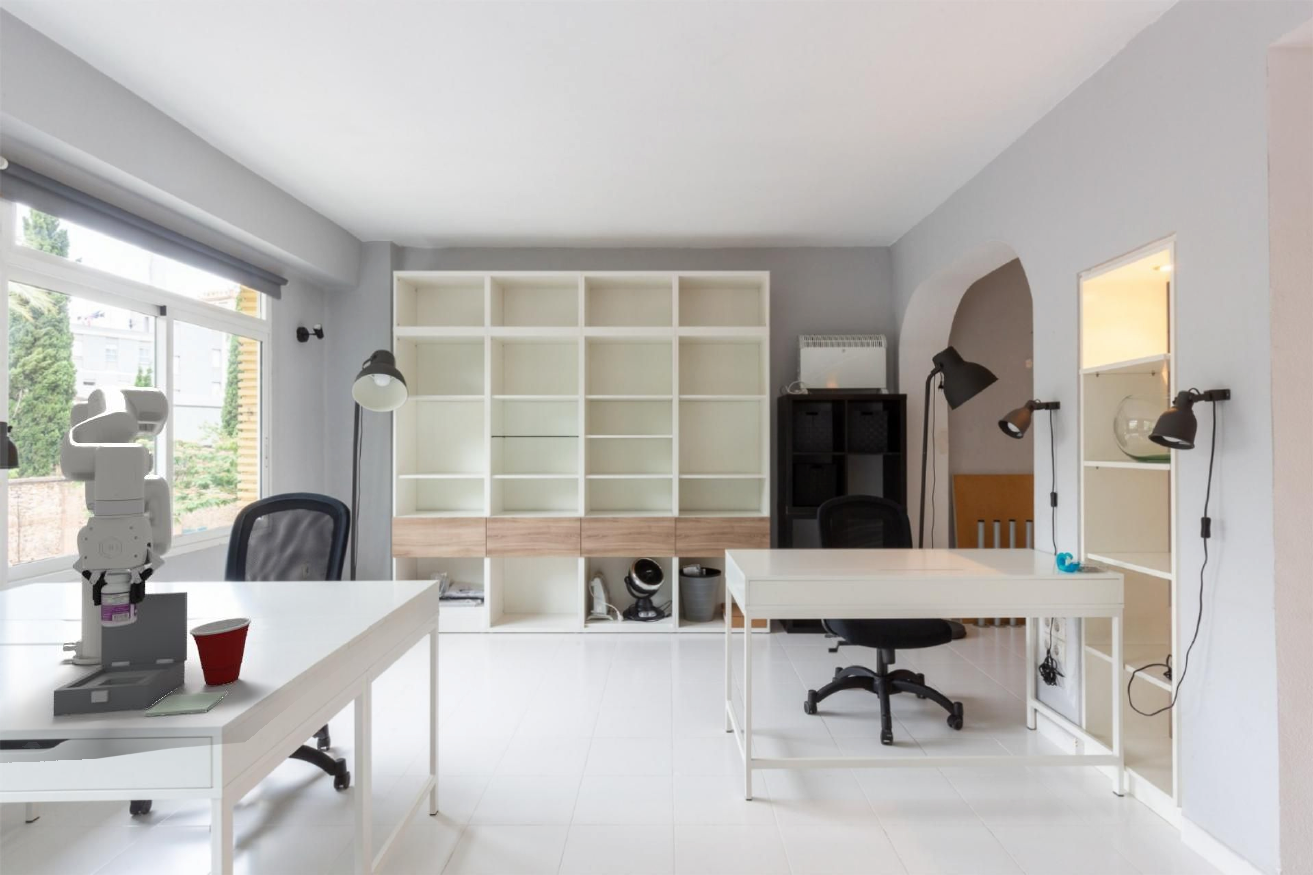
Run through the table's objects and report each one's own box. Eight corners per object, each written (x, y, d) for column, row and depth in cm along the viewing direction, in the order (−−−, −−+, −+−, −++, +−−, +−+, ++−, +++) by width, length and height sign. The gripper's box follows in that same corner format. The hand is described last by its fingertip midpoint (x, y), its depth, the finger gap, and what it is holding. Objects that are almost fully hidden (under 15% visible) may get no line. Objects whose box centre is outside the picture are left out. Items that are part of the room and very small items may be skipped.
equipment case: (51, 717, 121) (52, 613, 121) (104, 687, 136) (104, 595, 137) (145, 710, 124) (145, 609, 124) (186, 681, 139) (187, 591, 140)
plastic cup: (197, 676, 142) (197, 619, 143) (256, 670, 146) (256, 614, 147) (182, 694, 132) (182, 632, 132) (245, 686, 136) (245, 627, 136)
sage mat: (144, 716, 121) (144, 713, 121) (170, 698, 130) (170, 695, 130) (206, 712, 123) (206, 708, 123) (227, 694, 132) (227, 691, 132)
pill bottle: (114, 620, 131) (114, 570, 132) (143, 619, 132) (143, 570, 132) (93, 627, 126) (93, 576, 126) (123, 627, 127) (124, 575, 127)
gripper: (54, 511, 124) (54, 610, 124) (159, 509, 127) (158, 606, 127) (81, 507, 131) (80, 601, 131) (179, 506, 135) (178, 597, 134)
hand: (119, 602), depth 129 cm, fingers closed on pill bottle, 5 cm apart
